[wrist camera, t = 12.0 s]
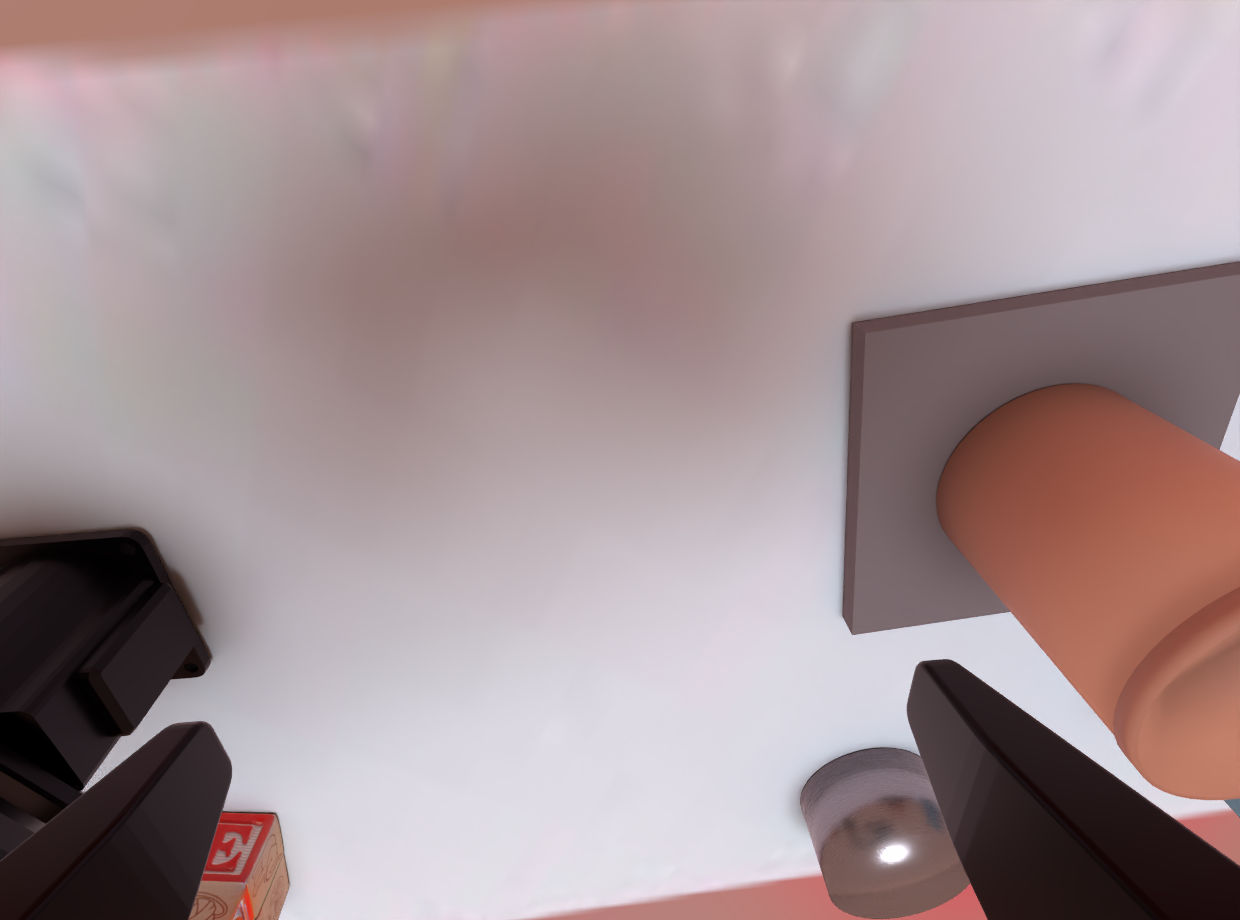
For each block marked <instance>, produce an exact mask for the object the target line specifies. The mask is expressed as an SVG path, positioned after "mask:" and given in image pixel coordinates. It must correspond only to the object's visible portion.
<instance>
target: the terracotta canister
mask: <svg viewBox="0 0 1240 920" xmlns="http://www.w3.org/2000/svg"><path fill="white" fill-rule="evenodd" d="M936 505H937V514H938V518H939V522H940V524H941V526H942V528H943V530H944V532H945V533H946V535H947V536H948V537H949V539H950V540H951V541H952V542H953V543H954V545H955V546H956V547H957V548H958V549H959V551H960V552H961V553H962V554H963V555H964V557H965V558H966V559H967V560H968V561H969V563H970V564H971V565H972V566H973V567H974V569H975V570H976V571H977V572H978V573H979V574H980V576H981V577H982V578H983V579H984V580H985V582H986V583H987V584H988V585H989V586H990V588H991V589H992V590H993V591H994V592H995V594H996V595H997V596H998V597H999V598H1000V600H1001V601H1002V602H1003V603H1004V604H1005V606H1006V607H1007V608H1008V609H1009V610H1010V612H1011V613H1012V614H1013V615H1014V616H1015V617H1016V619H1017V620H1018V621H1019V622H1020V623H1021V625H1022V626H1023V627H1024V628H1025V629H1026V631H1027V632H1028V633H1029V634H1030V635H1031V637H1032V638H1033V639H1034V640H1035V641H1036V643H1037V644H1038V645H1039V646H1040V647H1041V649H1042V650H1043V651H1044V652H1045V653H1046V654H1047V656H1048V657H1049V658H1050V659H1051V660H1052V662H1053V663H1054V664H1055V665H1056V666H1057V668H1058V669H1059V670H1060V671H1061V672H1062V674H1063V675H1064V676H1065V677H1066V678H1067V680H1068V681H1069V682H1070V683H1071V684H1072V686H1073V687H1074V688H1075V689H1076V690H1077V692H1078V693H1079V694H1080V695H1081V696H1082V697H1083V699H1084V700H1085V701H1086V702H1087V703H1088V705H1089V706H1090V707H1091V708H1092V709H1093V711H1094V712H1095V713H1096V714H1097V715H1098V717H1099V718H1100V719H1101V720H1102V721H1103V723H1104V724H1105V725H1106V726H1107V727H1108V729H1109V730H1110V731H1111V732H1112V733H1113V734H1114V736H1115V739H1116V741H1117V744H1118V746H1119V747H1120V749H1121V750H1122V752H1123V753H1124V755H1125V756H1126V757H1127V758H1128V759H1129V761H1130V762H1131V763H1132V764H1133V765H1134V767H1135V768H1136V769H1137V770H1138V771H1139V773H1140V774H1141V775H1142V776H1143V777H1144V778H1145V779H1146V780H1147V781H1148V782H1149V783H1150V784H1152V785H1153V786H1155V787H1156V788H1158V789H1160V790H1162V791H1164V792H1167V793H1169V794H1172V795H1175V796H1180V797H1185V798H1190V799H1200V800H1229V799H1240V461H1238V460H1236V459H1234V458H1233V457H1231V456H1229V455H1227V454H1226V453H1224V452H1222V451H1220V450H1218V449H1217V448H1215V447H1213V446H1211V445H1209V444H1208V443H1206V442H1204V441H1202V440H1200V439H1199V438H1197V437H1195V436H1193V435H1191V434H1190V433H1188V432H1186V431H1184V430H1182V429H1181V428H1179V427H1177V426H1175V425H1173V424H1172V423H1170V422H1168V421H1166V420H1165V419H1163V418H1161V417H1159V416H1157V415H1156V414H1154V413H1152V412H1150V411H1148V410H1147V409H1145V408H1143V407H1141V406H1139V405H1138V404H1136V403H1134V402H1132V401H1130V400H1129V399H1127V398H1125V397H1123V396H1121V395H1120V394H1118V393H1116V392H1114V391H1112V390H1109V389H1107V388H1104V387H1101V386H1096V385H1091V384H1063V385H1057V386H1052V387H1047V388H1044V389H1040V390H1037V391H1034V392H1031V393H1028V394H1026V395H1024V396H1021V397H1019V398H1017V399H1015V400H1013V401H1011V402H1009V403H1007V404H1005V405H1004V406H1002V407H1001V408H999V409H998V410H996V411H995V412H993V413H991V414H990V415H989V416H988V417H986V418H985V419H984V420H983V421H981V422H980V423H979V424H978V425H977V426H976V427H975V428H974V429H973V430H972V431H971V432H970V433H968V435H967V436H966V437H965V438H964V439H963V440H962V442H961V443H960V444H959V445H958V447H957V448H956V449H955V451H954V452H953V454H952V455H951V457H950V459H949V461H948V462H947V464H946V466H945V468H944V471H943V473H942V476H941V478H940V482H939V486H938V490H937V500H936Z"/></svg>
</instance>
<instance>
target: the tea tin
mask: <svg viewBox="0 0 1240 920" xmlns="http://www.w3.org/2000/svg"><path fill="white" fill-rule="evenodd" d="M801 807H802V811H803V814H804V817H805V820H806V823H807V827H808V830H809V833H810V836H811V839H812V843H813V846H814V849H815V852H816V855H817V858H818V862H819V865H820V868H821V871H822V874H823V877H824V881H825V883H826V887H827V890H828V893H829V896H830V898H831V901H832V902H833V903H834V905H835V906H837V907H838V908H839V909H841V910H842V911H844V912H846V913H848V914H851V915H854V916H857V917H863V918H871V919H889V918H899V917H904V916H910V915H914V914H917V913H921V912H924V911H927V910H930V909H932V908H935V907H937V906H939V905H941V904H943V903H945V902H947V901H949V900H950V899H952V898H954V897H955V896H957V895H958V894H959V893H961V892H962V891H963V890H964V889H965V888H966V887H967V886H968V885H969V884H970V881H969V879H968V877H967V875H966V872H965V870H964V868H963V866H962V864H961V862H960V859H959V857H958V855H957V853H956V850H955V848H954V846H953V843H952V841H951V838H950V836H949V833H948V830H947V828H946V825H945V823H944V820H943V817H942V814H941V811H940V808H939V806H938V803H937V800H936V797H935V794H934V792H933V789H932V786H931V783H930V780H929V778H928V775H927V772H926V769H925V766H924V764H923V761H922V758H921V757H919V756H917V755H916V754H913V753H911V752H908V751H904V750H900V749H892V748H878V749H869V750H863V751H858V752H855V753H851V754H848V755H846V756H843V757H840V758H838V759H836V760H834V761H832V762H830V763H829V764H827V765H825V766H824V767H823V768H821V769H820V770H819V771H817V772H816V773H815V774H814V775H813V776H812V777H811V778H810V780H809V781H808V782H807V784H806V785H805V787H804V789H803V791H802V795H801Z"/></svg>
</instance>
